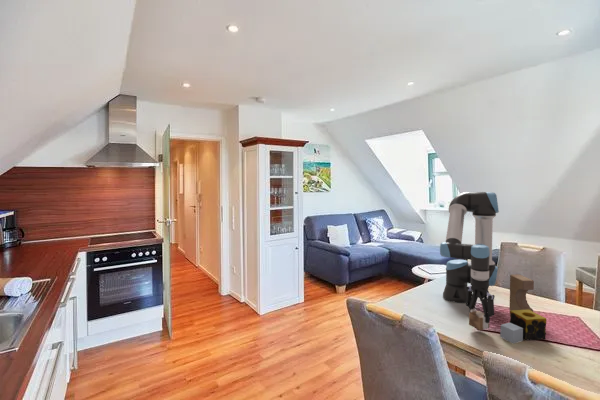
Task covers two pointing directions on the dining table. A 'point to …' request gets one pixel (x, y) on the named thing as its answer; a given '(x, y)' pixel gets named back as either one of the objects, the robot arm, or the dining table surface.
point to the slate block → (511, 333)
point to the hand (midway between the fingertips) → (479, 325)
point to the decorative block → (519, 292)
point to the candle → (529, 324)
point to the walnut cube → (476, 320)
